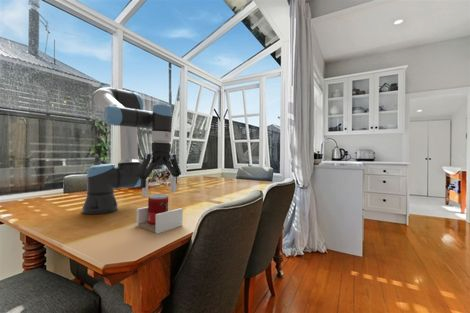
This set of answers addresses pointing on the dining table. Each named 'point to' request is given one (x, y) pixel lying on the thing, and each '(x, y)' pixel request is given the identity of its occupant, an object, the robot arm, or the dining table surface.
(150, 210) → the canned food
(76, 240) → the dining table surface
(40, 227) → the dining table surface
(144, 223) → the holder
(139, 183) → the robot arm
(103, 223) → the dining table surface
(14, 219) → the dining table surface
